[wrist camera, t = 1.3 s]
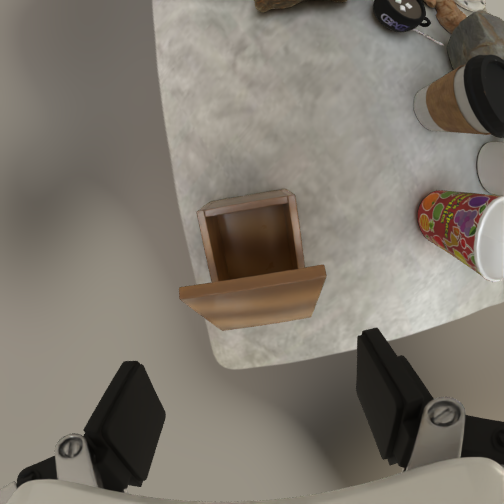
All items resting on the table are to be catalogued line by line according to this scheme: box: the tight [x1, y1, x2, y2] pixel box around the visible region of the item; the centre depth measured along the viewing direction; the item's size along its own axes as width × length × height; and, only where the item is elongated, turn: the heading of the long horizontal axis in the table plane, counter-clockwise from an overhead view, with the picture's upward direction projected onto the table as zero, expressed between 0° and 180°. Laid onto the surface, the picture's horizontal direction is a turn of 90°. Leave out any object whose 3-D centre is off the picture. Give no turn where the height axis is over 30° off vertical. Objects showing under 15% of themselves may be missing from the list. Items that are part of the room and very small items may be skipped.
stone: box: [447, 10, 504, 70], centre depth 21 cm, size 12×8×8 cm
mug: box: [373, 0, 444, 46], centre depth 22 cm, size 12×6×8 cm, turn 77°
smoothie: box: [418, 191, 504, 282], centre depth 24 cm, size 8×8×20 cm
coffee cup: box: [414, 54, 504, 138], centre depth 22 cm, size 8×8×15 cm
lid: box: [179, 265, 327, 331], centre depth 23 cm, size 12×9×1 cm
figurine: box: [423, 0, 466, 34], centre depth 23 cm, size 7×4×20 cm
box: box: [197, 189, 305, 282], centre depth 31 cm, size 11×9×8 cm
